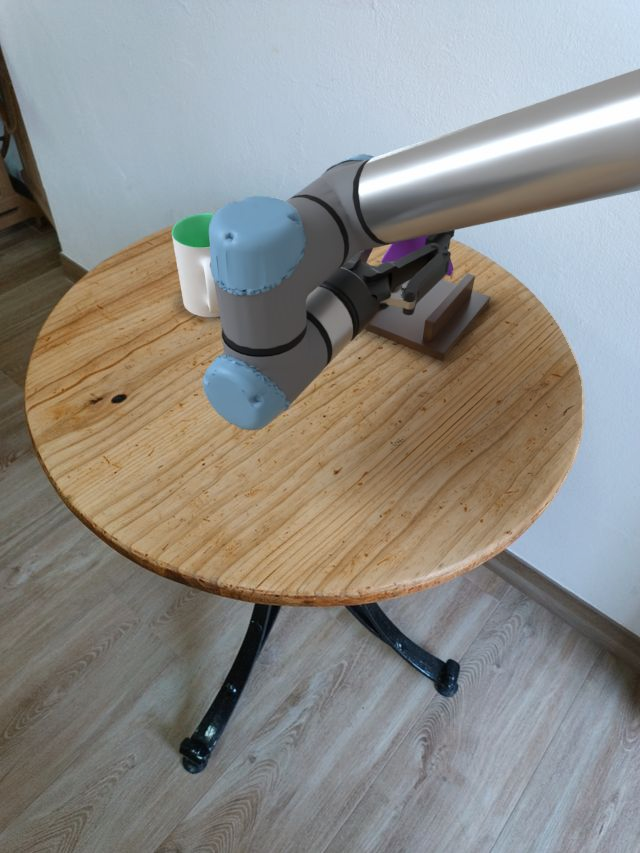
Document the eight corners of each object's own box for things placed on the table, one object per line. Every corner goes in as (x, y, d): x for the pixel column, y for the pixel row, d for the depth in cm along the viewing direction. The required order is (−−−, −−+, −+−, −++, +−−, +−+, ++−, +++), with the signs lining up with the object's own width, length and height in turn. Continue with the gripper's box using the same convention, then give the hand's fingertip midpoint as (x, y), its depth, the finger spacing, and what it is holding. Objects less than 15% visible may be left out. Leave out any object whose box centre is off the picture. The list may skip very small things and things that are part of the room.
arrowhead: (411, 298, 89) (362, 240, 86) (414, 291, 90) (365, 234, 87) (475, 261, 83) (424, 197, 79) (477, 254, 84) (427, 190, 80)
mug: (254, 329, 88) (249, 260, 81) (192, 340, 87) (180, 270, 79) (237, 277, 96) (230, 209, 89) (179, 286, 95) (167, 218, 87)
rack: (489, 303, 92) (495, 277, 89) (442, 361, 84) (447, 334, 81) (385, 266, 98) (387, 240, 95) (332, 316, 90) (333, 289, 87)
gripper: (254, 314, 76) (362, 222, 89) (401, 377, 69) (494, 268, 82) (249, 255, 70) (365, 167, 84) (408, 317, 64) (507, 210, 77)
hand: (429, 217), depth 83 cm, fingers closed on arrowhead, 5 cm apart
